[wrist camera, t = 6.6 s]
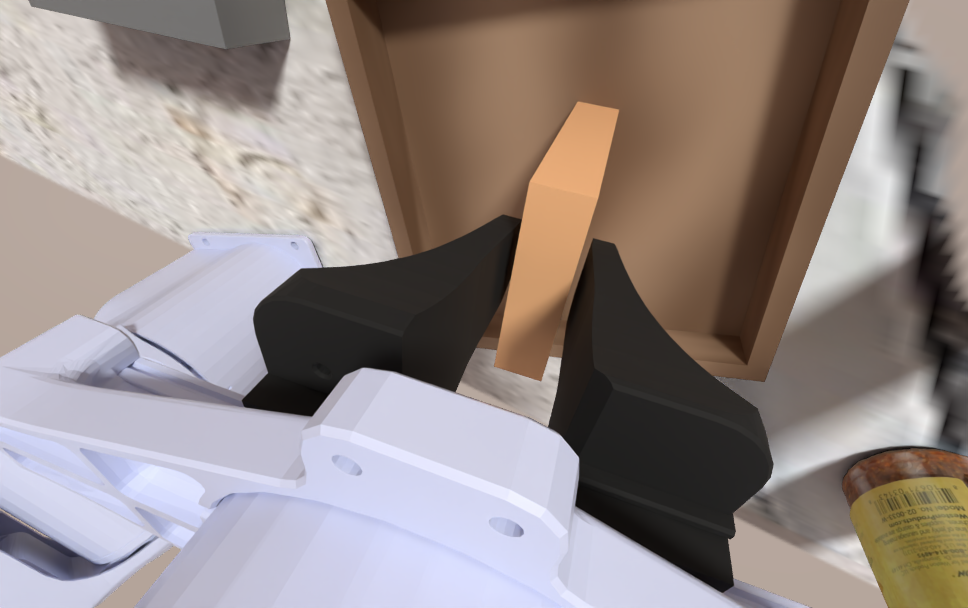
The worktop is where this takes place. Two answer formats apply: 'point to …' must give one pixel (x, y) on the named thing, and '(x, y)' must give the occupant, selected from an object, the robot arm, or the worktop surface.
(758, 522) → the worktop surface
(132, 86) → the worktop surface
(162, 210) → the worktop surface
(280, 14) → the dispenser
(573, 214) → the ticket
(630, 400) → the robot arm
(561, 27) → the tray
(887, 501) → the sauce bottle
